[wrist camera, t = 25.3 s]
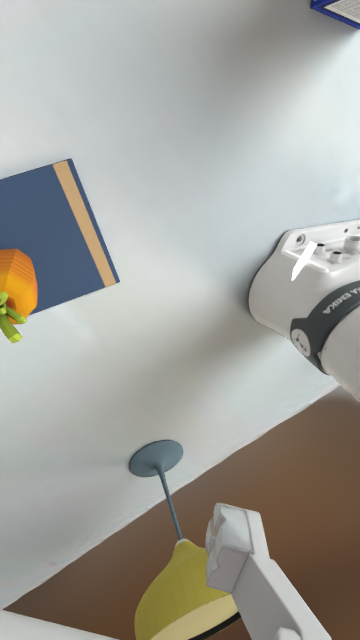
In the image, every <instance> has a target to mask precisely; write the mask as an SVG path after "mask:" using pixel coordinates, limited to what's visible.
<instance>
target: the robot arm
mask: <svg viewBox="0 0 360 640" xmlns="http://www.w3.org/2000/svg"><path fill="white" fill-rule="evenodd" d="M298 237H299V238H298ZM297 238H298V240H297ZM249 308H250V312H251V314H252V316H253V318H254V319H255V320H256V321H257V322H258V323H260V324H262V325H264V326H267V327H269V328H271V329H273V330H275V331H276V332H278V333H280V334H281V335H283V336H284V337H286V338H287V339H288V340H290V341H291V342H292V343H293V344H294V345H295V347H296V348H297V349H298V350H299V351H300V352H301V353H302V354H303V355H304V356H305V357H306V358H307V359H308V360H309V361H310V362H311V363H312V364H313V365H314V366H316V367H317V368H318V369H319V370H320V371H321V372H323V373H324V374H326V375H330V376H331V377H332V378H334V379H335V380H336V381H337V382H338V383H339V384H340V385H341V386H342V387H343V388H344V389H345V390H346V391H347V392H349V393H350V394H351V395H352V396H353V397H354V398H355V399H356V400H357V401H358V402H359V403H360V219H358V220H351V221H345V222H339V223H332V224H326V225H320V226H313V227H307V228H300V229H294V230H289V231H287V232H286V233H285V234H284V235H283V236H282V238H281V240H280V242H279V244H278V246H277V248H276V250H275V252H274V253H273V254H272V256H271V257H270V258H269V259H268V260H267V261H266V262H265V263H264V265H263V266H262V267H261V269H260V270H259V271H258V273H257V275H256V276H255V278H254V280H253V283H252V285H251V289H250V293H249ZM206 552H207V554H208V556H209V558H208V560H207V563H206V586H207V587H210V588H214V589H217V590H220V591H224V592H227V593H231V594H232V595H231V596H232V598H233V600H234V602H235V604H236V606H237V608H238V611H239V613H240V615H241V617H242V619H243V621H244V623H245V625H246V628H247V630H248V632H249V634H250V636H251V638H252V640H332V639H331V637H330V636H329V635H328V633H327V632H326V631H325V629H324V628H323V626H322V625H321V624H320V622H319V621H318V620H317V618H316V617H315V616H314V614H313V613H312V611H311V610H310V609H309V607H308V606H307V605H306V603H305V602H304V601H303V599H302V598H301V596H300V595H299V594H298V592H297V591H296V590H295V588H294V587H293V585H292V584H291V583H290V581H289V580H288V579H287V577H286V576H285V574H284V573H283V572H282V570H281V569H280V568H279V567H278V565H277V564H276V562H275V561H274V560H271V559H270V557H269V553H268V549H267V544H266V539H265V534H264V530H263V525H262V520H261V516H260V514H259V513H258V512H255V511H250V510H247V509H242V508H238V507H234V506H230V505H226V504H222V503H217V504H216V506H215V508H214V518H212V519H211V520H210V522H209V525H208V529H207V534H206ZM0 640H118V639H114V638H110V637H106V636H102V635H98V634H95V633H91V632H87V631H83V630H79V629H74V628H71V627H67V626H63V625H59V624H54V623H51V622H47V621H43V620H39V619H35V618H31V617H27V616H23V615H19V614H15V613H11V612H7V611H4V610H0Z"/></svg>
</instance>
